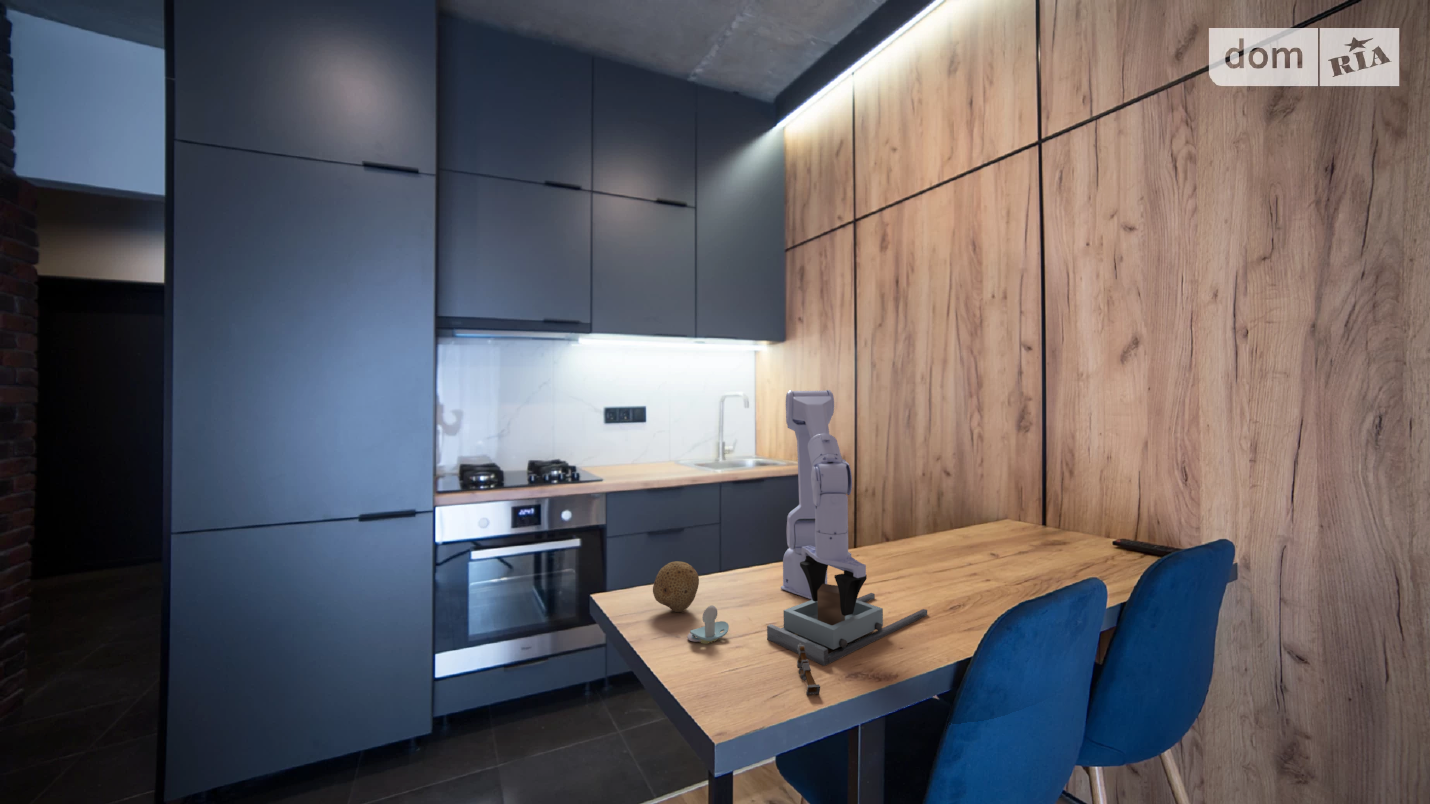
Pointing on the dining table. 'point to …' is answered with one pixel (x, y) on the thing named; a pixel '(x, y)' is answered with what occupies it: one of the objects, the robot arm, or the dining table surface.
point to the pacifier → (709, 627)
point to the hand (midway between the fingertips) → (832, 606)
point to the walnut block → (829, 604)
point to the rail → (821, 653)
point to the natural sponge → (676, 585)
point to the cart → (833, 636)
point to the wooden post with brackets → (806, 671)
